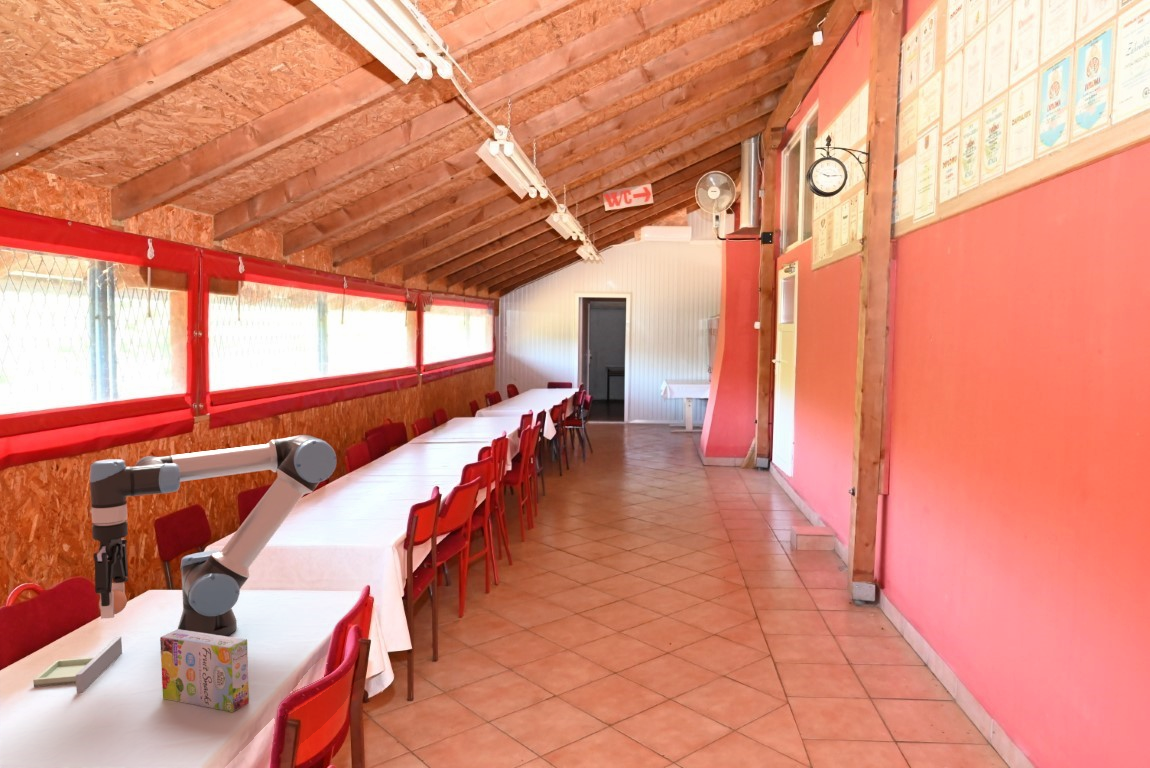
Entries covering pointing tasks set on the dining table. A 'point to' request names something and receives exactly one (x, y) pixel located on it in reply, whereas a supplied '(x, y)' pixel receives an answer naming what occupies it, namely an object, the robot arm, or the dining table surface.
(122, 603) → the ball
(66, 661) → the tray
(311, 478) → the robot arm
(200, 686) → the snack box
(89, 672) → the divider wall
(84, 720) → the dining table surface
